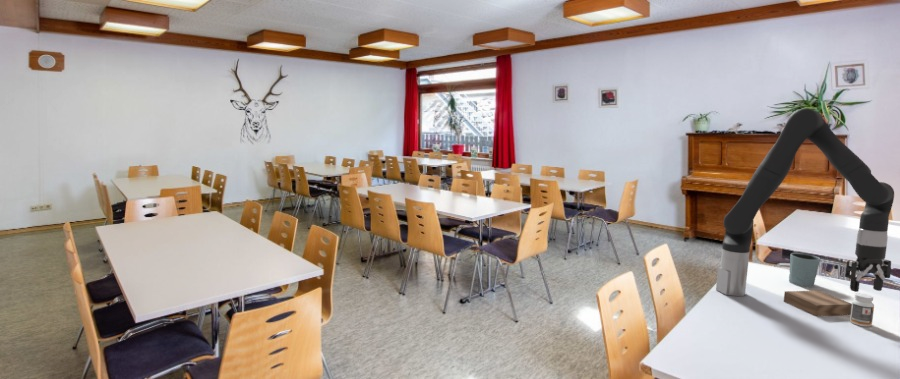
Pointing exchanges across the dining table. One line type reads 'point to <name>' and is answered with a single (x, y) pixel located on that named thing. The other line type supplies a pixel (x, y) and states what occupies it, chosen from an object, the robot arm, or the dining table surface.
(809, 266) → the green plant pot
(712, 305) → the dining table surface
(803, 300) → the walnut base
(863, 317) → the pill bottle
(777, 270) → the dining table surface
